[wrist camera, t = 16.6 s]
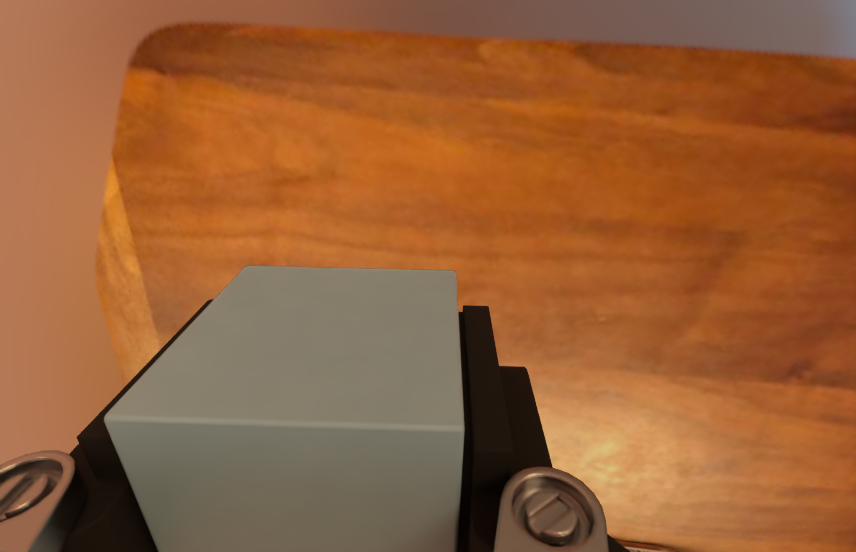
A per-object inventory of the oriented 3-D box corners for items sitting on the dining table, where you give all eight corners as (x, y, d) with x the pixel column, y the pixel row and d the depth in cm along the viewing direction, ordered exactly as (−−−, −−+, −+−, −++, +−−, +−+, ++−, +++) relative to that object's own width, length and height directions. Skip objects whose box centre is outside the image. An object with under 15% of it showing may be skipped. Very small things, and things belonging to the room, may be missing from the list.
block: (245, 263, 9) (99, 417, 5) (456, 269, 9) (465, 429, 5) (274, 423, 11) (183, 621, 7) (449, 428, 11) (452, 631, 7)
